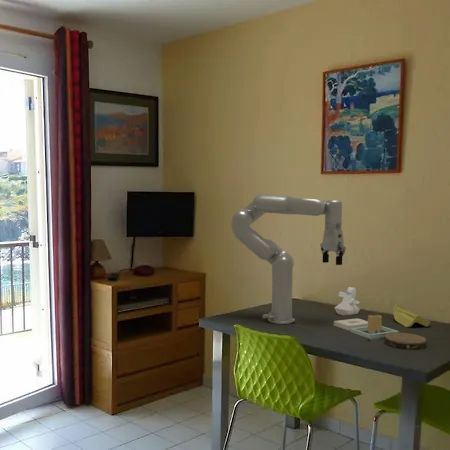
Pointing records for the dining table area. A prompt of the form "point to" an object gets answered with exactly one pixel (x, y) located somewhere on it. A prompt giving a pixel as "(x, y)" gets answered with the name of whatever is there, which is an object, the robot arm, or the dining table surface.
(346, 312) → the white faceted figurine
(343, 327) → the block
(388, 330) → the tray
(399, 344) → the wood slice coaster
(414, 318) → the plastic component
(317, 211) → the robot arm
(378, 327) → the tan rectangular block
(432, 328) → the dining table surface
